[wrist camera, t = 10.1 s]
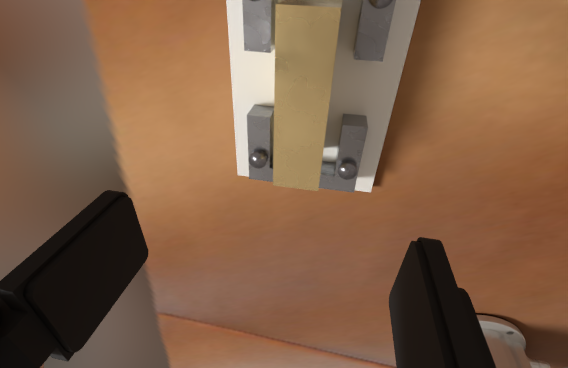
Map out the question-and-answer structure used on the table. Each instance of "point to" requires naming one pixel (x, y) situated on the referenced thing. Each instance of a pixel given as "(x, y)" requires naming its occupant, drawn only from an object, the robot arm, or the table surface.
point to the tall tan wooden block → (303, 88)
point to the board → (345, 86)
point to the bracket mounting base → (354, 128)
